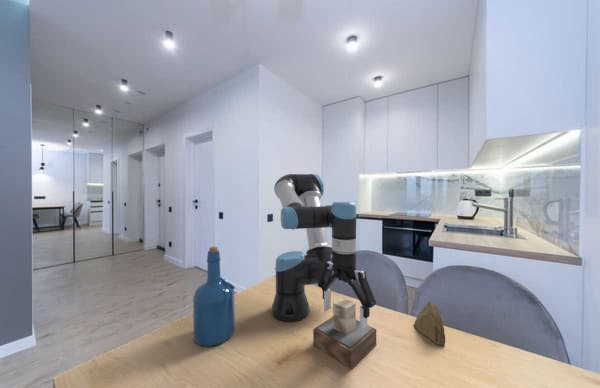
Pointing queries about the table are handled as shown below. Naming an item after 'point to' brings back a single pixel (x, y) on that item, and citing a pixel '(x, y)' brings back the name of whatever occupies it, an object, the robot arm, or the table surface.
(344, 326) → the beech block
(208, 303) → the wine bottle
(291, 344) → the table surface
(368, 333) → the walnut plinth
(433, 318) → the rock
